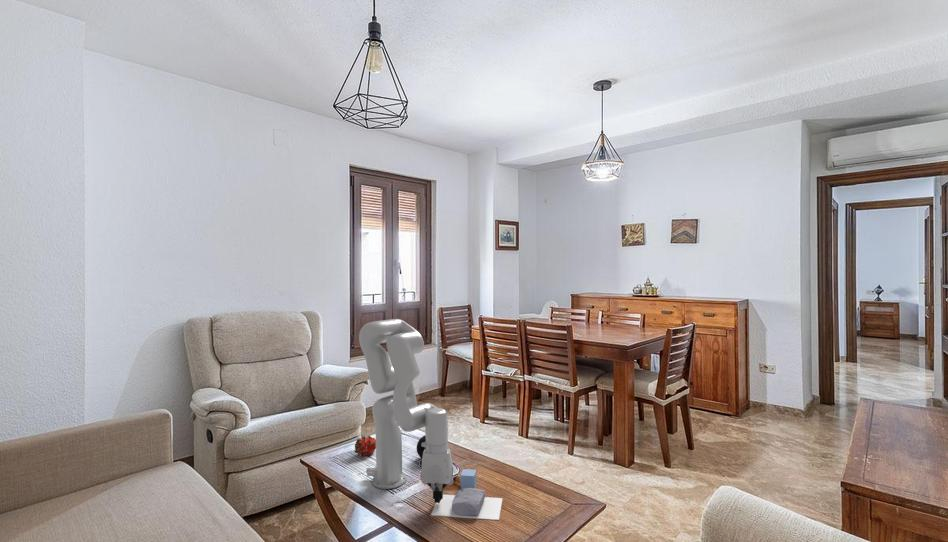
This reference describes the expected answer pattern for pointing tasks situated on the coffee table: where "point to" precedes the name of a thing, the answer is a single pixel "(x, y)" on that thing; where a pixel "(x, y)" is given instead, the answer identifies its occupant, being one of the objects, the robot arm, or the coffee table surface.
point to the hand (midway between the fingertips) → (438, 500)
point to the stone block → (468, 501)
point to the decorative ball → (419, 447)
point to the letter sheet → (488, 511)
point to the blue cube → (468, 478)
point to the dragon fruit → (365, 446)
